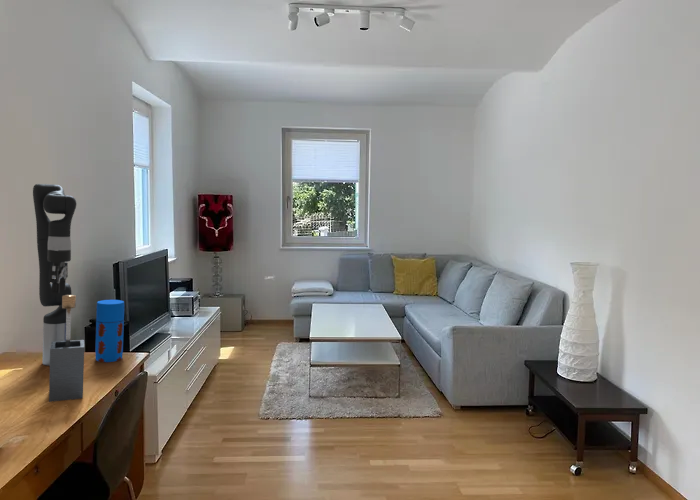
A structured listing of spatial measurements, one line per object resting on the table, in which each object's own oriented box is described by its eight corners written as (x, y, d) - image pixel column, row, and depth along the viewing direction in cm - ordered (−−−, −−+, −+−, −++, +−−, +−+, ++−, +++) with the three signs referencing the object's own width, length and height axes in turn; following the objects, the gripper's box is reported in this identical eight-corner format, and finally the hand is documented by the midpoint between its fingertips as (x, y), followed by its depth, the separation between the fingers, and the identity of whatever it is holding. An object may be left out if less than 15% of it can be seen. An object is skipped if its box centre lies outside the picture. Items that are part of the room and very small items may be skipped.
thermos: (111, 363, 206) (113, 305, 204) (89, 360, 208) (90, 302, 207) (127, 356, 217) (129, 301, 215) (106, 353, 219) (108, 298, 217)
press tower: (50, 391, 172) (51, 341, 171) (82, 388, 177) (84, 339, 176) (48, 401, 164) (50, 349, 162) (82, 398, 168) (84, 347, 167)
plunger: (56, 366, 171) (58, 294, 169) (78, 364, 174) (80, 294, 172) (55, 372, 165) (57, 297, 164) (78, 370, 168) (80, 297, 167)
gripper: (53, 247, 188) (53, 288, 189) (41, 249, 174) (41, 294, 175) (75, 247, 190) (74, 288, 191) (65, 250, 176) (64, 294, 177)
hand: (58, 291), depth 183 cm, fingers open, 8 cm apart
